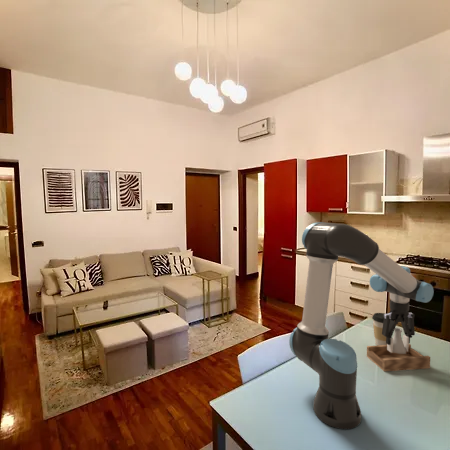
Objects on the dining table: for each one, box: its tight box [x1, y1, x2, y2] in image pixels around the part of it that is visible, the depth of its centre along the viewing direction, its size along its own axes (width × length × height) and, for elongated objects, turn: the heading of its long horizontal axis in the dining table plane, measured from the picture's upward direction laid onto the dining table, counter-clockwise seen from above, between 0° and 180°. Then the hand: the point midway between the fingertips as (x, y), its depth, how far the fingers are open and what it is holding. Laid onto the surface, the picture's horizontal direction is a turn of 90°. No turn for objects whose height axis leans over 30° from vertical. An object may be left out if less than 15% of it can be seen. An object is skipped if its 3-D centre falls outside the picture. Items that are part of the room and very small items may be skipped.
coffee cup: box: [371, 312, 391, 346], centre depth 145 cm, size 10×10×15 cm
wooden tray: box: [366, 343, 431, 372], centre depth 129 cm, size 21×12×5 cm, turn 96°
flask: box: [392, 327, 406, 354], centre depth 129 cm, size 7×7×10 cm
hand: (397, 350), depth 129 cm, fingers closed on flask, 7 cm apart
